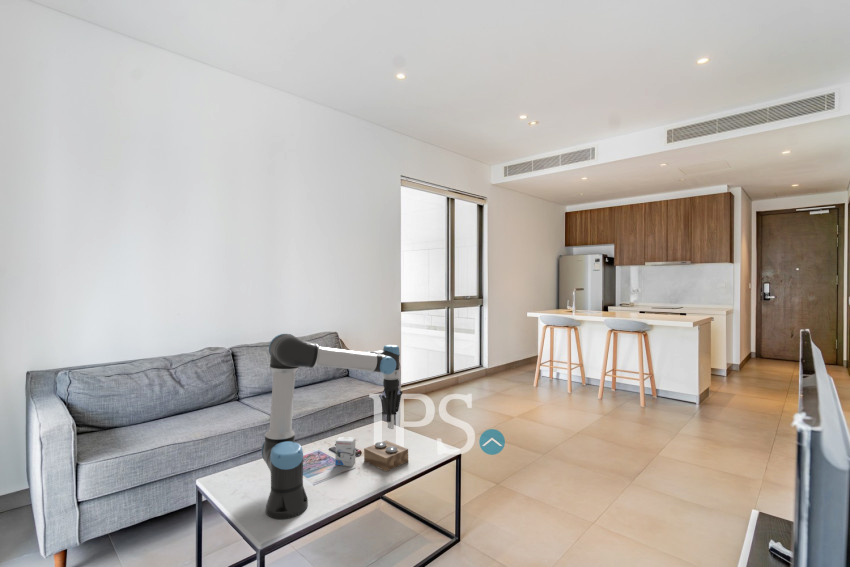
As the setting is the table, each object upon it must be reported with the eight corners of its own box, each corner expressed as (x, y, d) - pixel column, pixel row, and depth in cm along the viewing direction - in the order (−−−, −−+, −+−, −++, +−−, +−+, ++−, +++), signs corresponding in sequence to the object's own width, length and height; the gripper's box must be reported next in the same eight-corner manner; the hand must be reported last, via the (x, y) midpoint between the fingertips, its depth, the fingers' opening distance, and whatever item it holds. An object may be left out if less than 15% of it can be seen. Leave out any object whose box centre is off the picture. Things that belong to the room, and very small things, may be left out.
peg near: (391, 466, 193) (391, 451, 193) (383, 463, 197) (383, 448, 197) (399, 463, 197) (399, 448, 197) (392, 459, 201) (392, 445, 201)
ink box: (334, 465, 195) (334, 440, 195) (338, 461, 200) (338, 436, 200) (352, 466, 195) (352, 441, 194) (355, 461, 200) (355, 437, 200)
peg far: (380, 461, 199) (380, 447, 199) (373, 458, 203) (373, 444, 203) (388, 458, 203) (388, 443, 203) (381, 455, 206) (381, 441, 206)
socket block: (386, 471, 189) (385, 458, 189) (364, 460, 200) (364, 448, 200) (408, 461, 199) (408, 449, 199) (386, 452, 211) (386, 440, 210)
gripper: (385, 381, 190) (385, 433, 190) (406, 377, 199) (406, 426, 199) (375, 378, 195) (374, 429, 195) (396, 374, 204) (395, 423, 204)
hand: (390, 428), depth 197 cm, fingers closed
